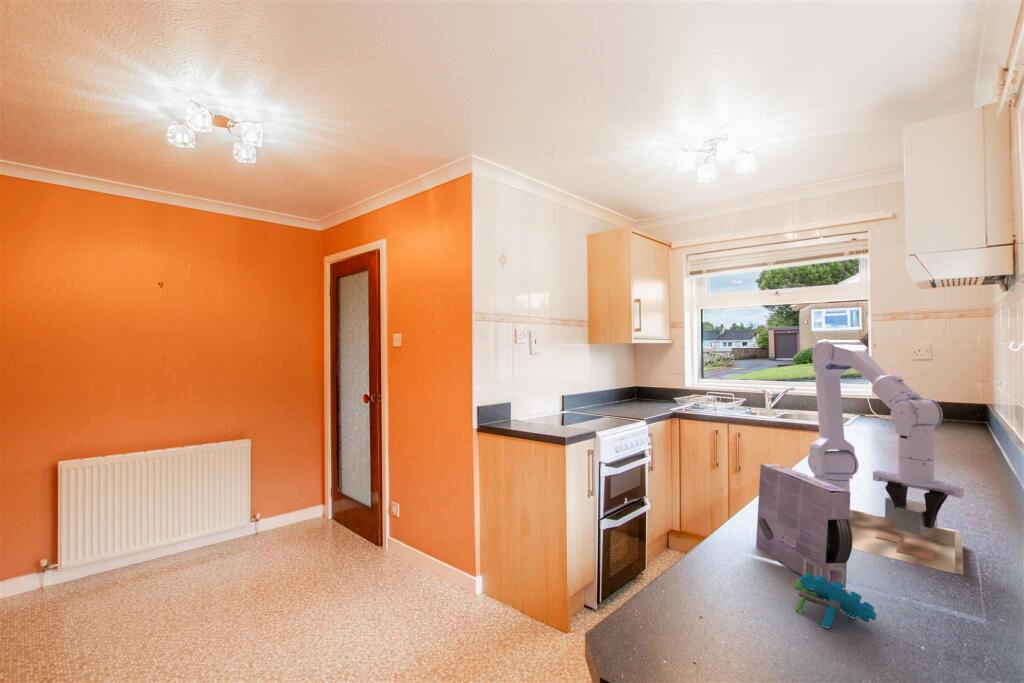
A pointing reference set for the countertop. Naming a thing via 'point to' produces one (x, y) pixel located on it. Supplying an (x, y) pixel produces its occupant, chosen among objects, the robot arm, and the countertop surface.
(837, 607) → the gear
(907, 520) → the bracket
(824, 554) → the cake pan box
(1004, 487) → the countertop surface
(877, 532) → the board
